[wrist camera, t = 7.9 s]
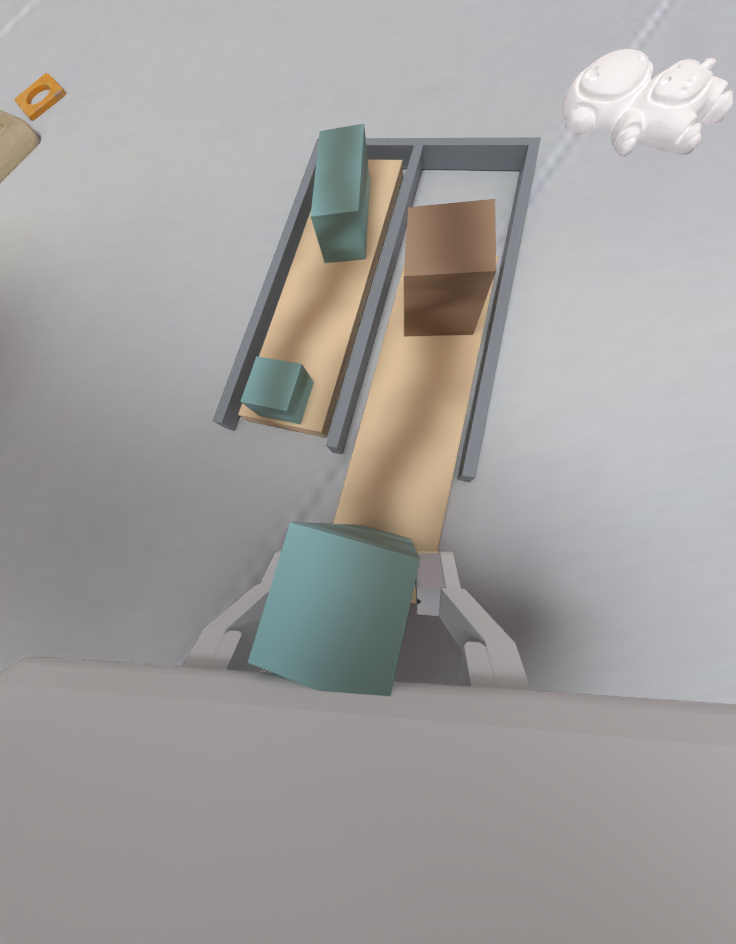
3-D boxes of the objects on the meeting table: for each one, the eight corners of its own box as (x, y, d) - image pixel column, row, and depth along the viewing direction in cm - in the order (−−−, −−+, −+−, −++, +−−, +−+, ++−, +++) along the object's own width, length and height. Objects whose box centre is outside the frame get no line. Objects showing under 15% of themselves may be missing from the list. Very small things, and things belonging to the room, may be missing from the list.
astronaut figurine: (659, 183, 22) (699, 128, 19) (538, 123, 24) (557, 67, 21) (733, 115, 22) (784, 51, 19) (605, 63, 25) (633, 1, 22)
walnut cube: (404, 336, 20) (403, 276, 15) (407, 280, 21) (408, 207, 16) (473, 334, 19) (495, 270, 15) (473, 277, 20) (495, 199, 15)
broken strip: (247, 420, 22) (205, 392, 17) (332, 175, 26) (317, 101, 22) (326, 437, 21) (303, 412, 16) (402, 177, 25) (402, 98, 20)
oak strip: (324, 571, 19) (184, 649, 7) (408, 263, 23) (411, -21, 11) (424, 601, 17) (464, 763, 6) (493, 270, 22) (600, -42, 10)
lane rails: (226, 428, 22) (212, 420, 20) (322, 161, 27) (317, 138, 25) (469, 482, 19) (474, 477, 17) (531, 163, 23) (540, 137, 22)
